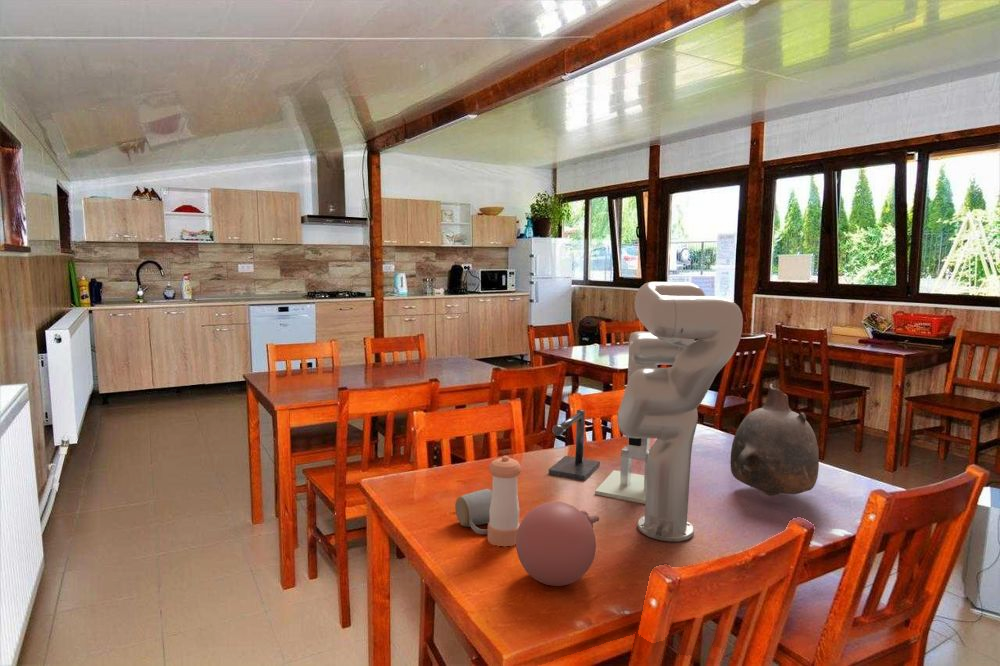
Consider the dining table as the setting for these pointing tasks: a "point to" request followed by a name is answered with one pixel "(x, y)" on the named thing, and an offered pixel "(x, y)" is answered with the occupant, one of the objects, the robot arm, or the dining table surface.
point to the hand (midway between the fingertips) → (639, 440)
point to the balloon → (556, 543)
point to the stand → (577, 464)
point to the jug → (775, 449)
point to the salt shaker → (504, 502)
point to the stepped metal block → (633, 453)
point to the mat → (623, 488)
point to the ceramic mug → (474, 509)
